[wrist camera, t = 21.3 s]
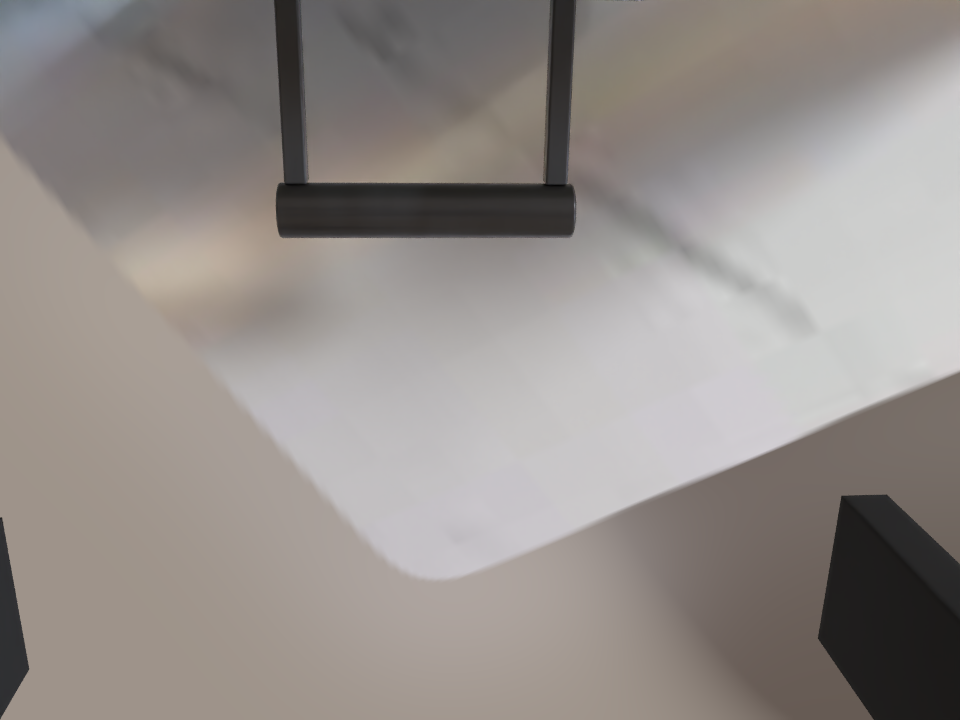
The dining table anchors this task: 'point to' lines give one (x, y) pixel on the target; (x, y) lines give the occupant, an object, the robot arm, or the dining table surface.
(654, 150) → the dining table surface
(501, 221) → the drawer
